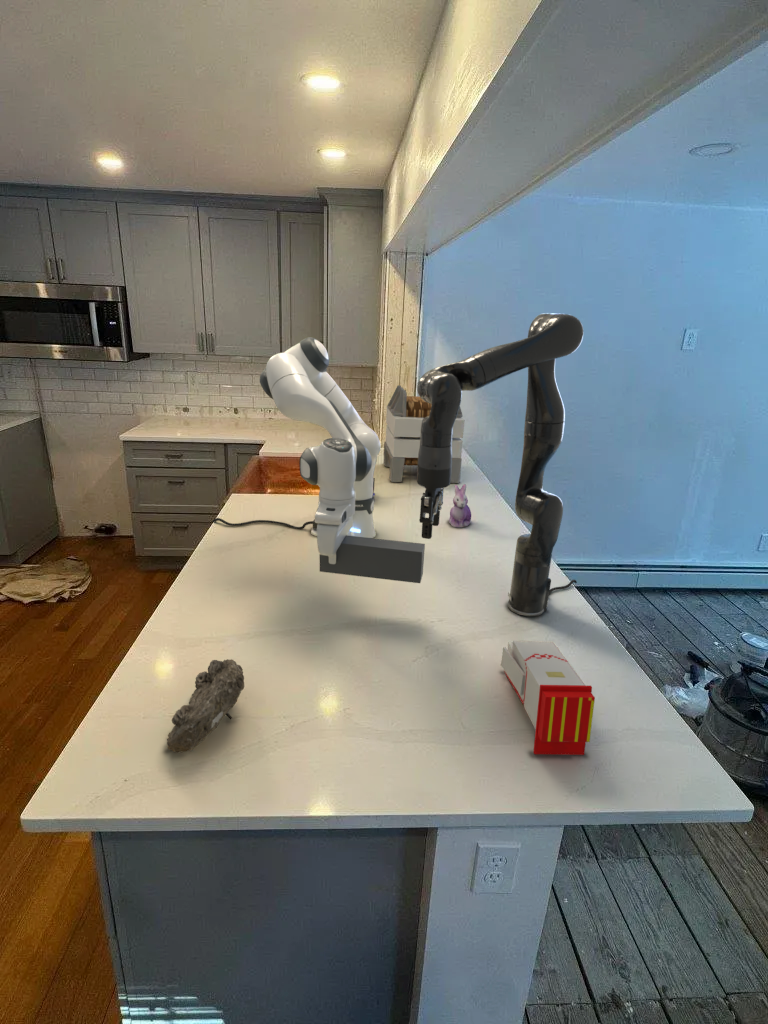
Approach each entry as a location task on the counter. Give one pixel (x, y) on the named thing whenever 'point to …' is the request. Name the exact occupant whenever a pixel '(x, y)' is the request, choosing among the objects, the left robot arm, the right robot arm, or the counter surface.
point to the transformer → (413, 434)
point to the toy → (550, 696)
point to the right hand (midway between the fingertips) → (430, 531)
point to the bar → (377, 559)
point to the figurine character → (373, 486)
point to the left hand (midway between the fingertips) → (336, 557)
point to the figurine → (460, 508)
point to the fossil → (206, 705)
